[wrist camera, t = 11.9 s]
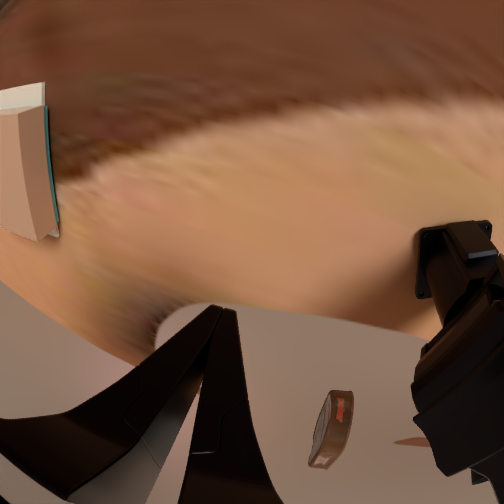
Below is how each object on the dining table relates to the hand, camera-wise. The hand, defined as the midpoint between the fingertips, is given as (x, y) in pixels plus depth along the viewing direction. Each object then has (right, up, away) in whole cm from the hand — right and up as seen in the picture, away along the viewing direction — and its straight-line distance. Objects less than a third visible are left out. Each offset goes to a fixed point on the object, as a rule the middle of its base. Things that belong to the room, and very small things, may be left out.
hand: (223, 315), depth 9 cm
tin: (+11, -18, +25) cm, 32 cm away
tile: (-17, +9, +10) cm, 22 cm away
